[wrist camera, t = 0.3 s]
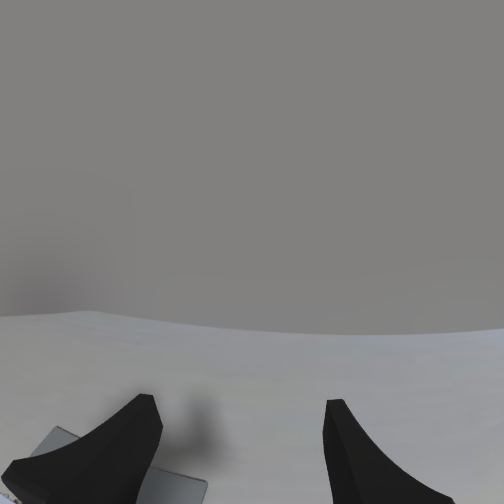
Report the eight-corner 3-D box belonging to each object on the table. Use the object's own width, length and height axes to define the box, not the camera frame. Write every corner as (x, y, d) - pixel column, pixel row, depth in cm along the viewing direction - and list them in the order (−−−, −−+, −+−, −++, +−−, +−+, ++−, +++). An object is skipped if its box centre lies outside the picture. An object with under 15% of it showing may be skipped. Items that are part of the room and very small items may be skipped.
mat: (177, 575, 13) (176, 574, 13) (8, 488, 15) (5, 485, 15) (207, 485, 24) (207, 482, 24) (56, 429, 27) (55, 426, 27)
